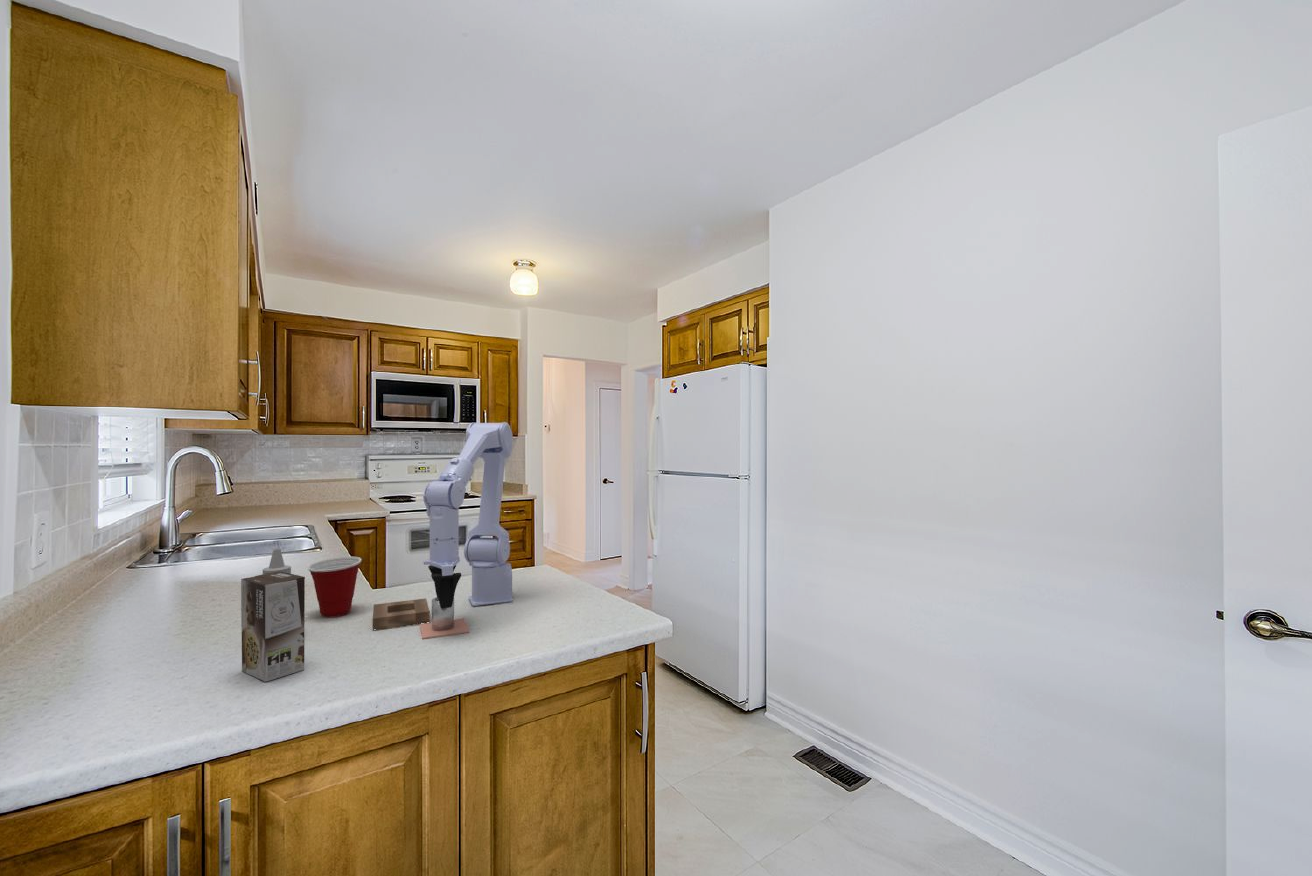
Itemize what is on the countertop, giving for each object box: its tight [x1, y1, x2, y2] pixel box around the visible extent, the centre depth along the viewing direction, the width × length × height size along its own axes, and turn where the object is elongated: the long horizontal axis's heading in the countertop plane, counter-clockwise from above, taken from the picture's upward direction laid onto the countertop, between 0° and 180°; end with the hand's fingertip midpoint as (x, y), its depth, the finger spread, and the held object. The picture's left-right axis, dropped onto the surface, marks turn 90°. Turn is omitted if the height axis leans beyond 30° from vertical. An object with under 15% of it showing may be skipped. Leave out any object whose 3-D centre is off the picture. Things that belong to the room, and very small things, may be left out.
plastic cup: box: [307, 556, 363, 618], centre depth 126 cm, size 11×11×12 cm
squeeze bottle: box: [262, 548, 292, 574], centre depth 110 cm, size 8×8×18 cm
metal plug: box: [431, 596, 455, 631], centre depth 116 cm, size 4×4×6 cm
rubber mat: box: [419, 617, 471, 640], centre depth 116 cm, size 9×9×1 cm
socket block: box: [372, 597, 431, 631], centre depth 122 cm, size 11×11×2 cm
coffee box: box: [240, 571, 306, 683], centre depth 95 cm, size 9×6×16 cm
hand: (444, 602), depth 116 cm, fingers open, 7 cm apart
